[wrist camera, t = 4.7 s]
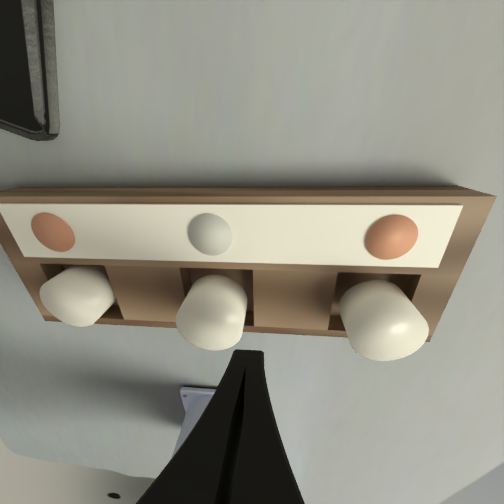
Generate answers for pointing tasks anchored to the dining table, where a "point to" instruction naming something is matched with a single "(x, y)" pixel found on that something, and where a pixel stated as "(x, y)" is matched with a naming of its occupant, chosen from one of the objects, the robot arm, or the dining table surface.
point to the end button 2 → (382, 321)
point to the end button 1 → (78, 294)
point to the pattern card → (237, 232)
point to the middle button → (213, 313)
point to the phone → (28, 69)
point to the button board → (257, 274)
